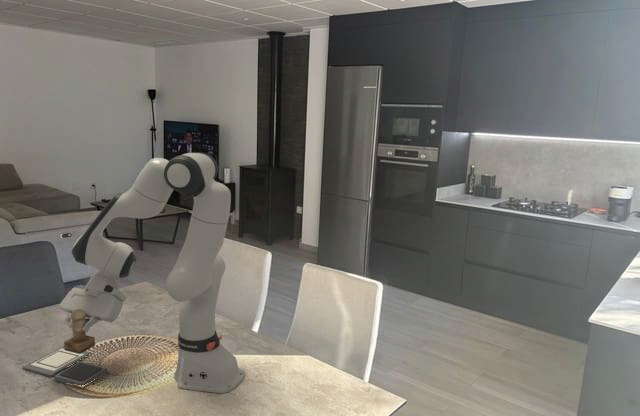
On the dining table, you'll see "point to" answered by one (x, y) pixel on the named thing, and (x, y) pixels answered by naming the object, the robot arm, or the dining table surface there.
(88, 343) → the hand stamp
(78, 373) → the ink pad
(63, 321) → the dining table surface
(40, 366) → the document board
